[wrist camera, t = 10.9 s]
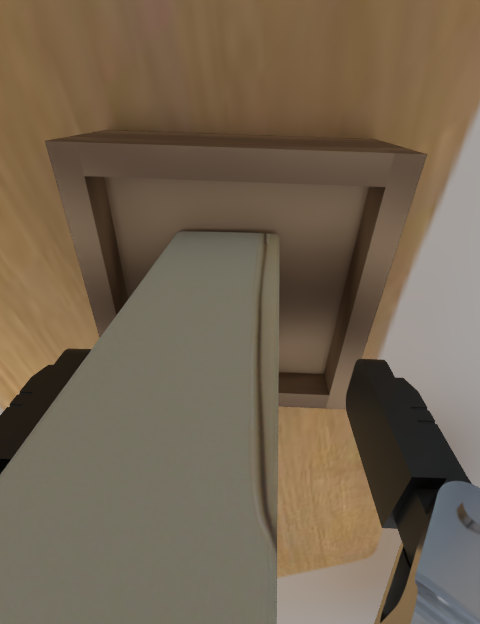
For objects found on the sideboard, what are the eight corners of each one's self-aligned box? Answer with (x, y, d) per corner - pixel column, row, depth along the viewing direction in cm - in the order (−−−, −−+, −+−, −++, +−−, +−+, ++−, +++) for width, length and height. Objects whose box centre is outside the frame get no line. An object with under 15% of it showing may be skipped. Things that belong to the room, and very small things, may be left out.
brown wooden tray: (110, 129, 14) (44, 140, 10) (371, 138, 14) (427, 154, 10) (146, 335, 21) (116, 398, 17) (324, 342, 21) (344, 409, 16)
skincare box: (273, 346, 16) (271, 769, 6) (186, 342, 16) (54, 735, 6) (280, 225, 12) (304, 810, 2) (168, 224, 13) (-206, 725, 3)
